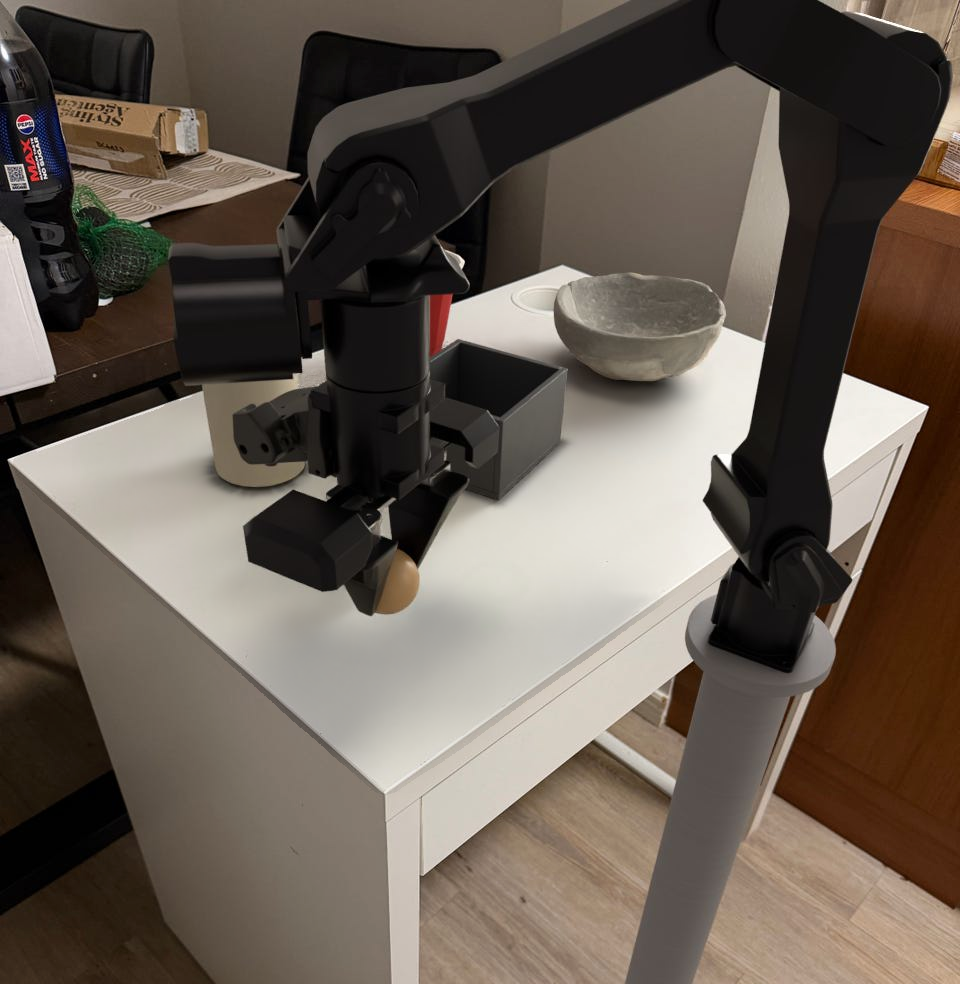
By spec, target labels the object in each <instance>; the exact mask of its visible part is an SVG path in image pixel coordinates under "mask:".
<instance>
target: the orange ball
mask: <svg viewBox="0 0 960 984" xmlns="http://www.w3.org/2000/svg"><path fill="white" fill-rule="evenodd" d="M420 579H421V578H420V572H419V568H418V569H417V567H416V565H415V563H414V561H413V560H412V559H411V558H410V557H409V556H408V555H407V554H406V553H405V552H403V551H401V550H399V549H396V552H395V555H394V559H393V562H392V564H391V568H390V571H389V574H388V577H387V580H386V583H385V587H384V590H383V593H382V596H381V599H380V602H379V604H378V607H377V609H376V612H375V613H374V614H378V615H386V616H387V615H393V614H398V613H400V612H402V611H404V610H406V609H407V608H408V607H409V606H410V605H411V604H412V603H413V602H414V600H415V599H416V597H417V594H418V593H419V588H420V584H421V583H420V581H421V580H420Z"/></svg>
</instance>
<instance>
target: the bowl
mask: <svg viewBox="0 0 960 984" xmlns="http://www.w3.org/2000/svg"><path fill="white" fill-rule="evenodd" d="M726 317H727V312H726V307H725V304H724V303H723V301H722V300H721V299H720V298H719V296H718V294H717V293H716V292H715V291H713V290H712V289H711V288H710V286H709V285H708V284H705V283H704V282H701V281H696V280H693V279H689V278H678V277H672V276H665V275H661V276H659V275H652V274H648V275H647V274H646V275H642V274H640V273H636V272H624V273H612V274H611V273H610V274H608V275H595V276H584V277H582V278H579V279H577V280H572V281H570V282H568V283H567V284H562V285H561V286H560V287H559V288H558V291H557V292H556V295H555V298H554V302H553V322H554V327H555V330H556V331H555V332H557V335H558V337H559V340H560V341H561V342H562V344H563V345H564V346H565V347H566V349H567V350H568V352H569V353H570V354H571V355H572V356H574V357H575V359H577V360H578V361H579V362H580V363H582V364H583V365H584V366H585V365H586V366H587V367H588V368H590V369H591V370H592V371H593V372H595V373H596V374H599V375H601V376H603V377H605V378H607V379H611V380H615V381H616V380H617V381H621V380H622V381H623V380H624V381H635V382H636V381H637V382H654V381H655V382H656V381H659V380H665V379H667V378H671V377H678V376H680V375H682V374H684V373H686V372H688V371H691V370H692V369H694V368H696V367H698V366H699V365H700V364H701V363H703V361H704V360H705V359H706V357H708V354H709V353H710V352H711V350H712V349H713V346H714V345H715V343H716V342H717V341H718V339H719V338H720V335H721V333H722V328H723V324H724V322H725V319H726Z"/></svg>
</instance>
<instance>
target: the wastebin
mask: <svg viewBox="0 0 960 984" xmlns="http://www.w3.org/2000/svg"><path fill="white" fill-rule="evenodd" d="M568 370H569V369H568V368H567V367H563V366H559V365H555V364H552V363H548V362H545V361H540V360H537V359H533V358H529V357H526V356H523V355H519V354H515V353H511V352H508V351H505V350H501V349H497V348H493V347H489V346H486V345H482V344H479V343H476V342H475V343H474V342H471V341H468V340H463V339H461V338H457V339H455V340H454V341H452V342H451V343H449V344H448V345H447V346H445V347H442V350H440V351H439V352H437V353H436V354H434V355H433V356H431V357H430V380H434V381H437V382H440V383H444V384H445V398H449V399H452V400H455V401H459V402H462V403H465V404H469V405H472V406H475V407H479V408H482V409H485V410H488V412H489V413H490V414H491V416H492V417H493V419H494V420H495V422H496V423H497V424H498V426H499V440H498V452H497V453H496V454H495V455H494V456H493V457H491V458H490V459H489V460H488V461H487V462H486V463H484V464H483V465H482V466H481V467H480V468H479V469H478V468H475V467H472V466H470V465H469V464H468V463H467V462H466V461H465V447H462V446H459V445H456V444H452V445H450V446H449V447H448V448H446V449H445V450H446V460H445V461H449V462H450V470H451V471H454V472H457V473H460V474H463V475H465V476H467V477H468V479H469V482H468V485H467V487H466V488H465V489H464V490H467V491H470V492H472V493H476V494H479V495H482V496H485V497H488V498H490V499H494V500H496V501H499V500H501V499H502V498H503V497H504V496H505V495H506V494H508V493H509V491H511V490H512V489H513V488H514V487H515V486H516V485H517V484H518V483H519V482H520V481H522V480H523V478H524V477H526V476H527V475H528V474H529V473H530V472H531V471H532V470H533V469H534V468H535V467H537V465H539V464H540V463H541V462H542V461H543V460H544V459H545V458H546V457H547V456H548V455H549V454H550V453H551V452H552V451H554V449H556V448H557V447H558V446H559V445H560V444H561V441H562V431H563V419H564V409H565V401H566V400H565V398H566V389H567V380H568V379H567V378H568Z"/></svg>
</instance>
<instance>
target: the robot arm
mask: <svg viewBox="0 0 960 984" xmlns="http://www.w3.org/2000/svg"><path fill="white" fill-rule="evenodd" d="M732 67H736V68H737V69H739V70H741V71H743V72H744V73H746V74H747V75H750V76H751V77H753V78H755V79H757V80H758V81H760V82H762V83H764V84H766V85H767V86H769V87H771V88H772V89H774V90H775V91H777V92H778V95H779V97H778V99H779V101H778V151H779V157H780V161H781V168H782V173H783V177H784V183H785V188H786V193H787V198H788V218H787V224H786V228H785V233H784V239H783V245H782V250H781V256H780V261H779V267H778V272H777V278H776V281H775V282H776V283H775V287H774V288H775V290H774V293H773V299H772V305H771V309H770V311H771V312H770V315H769V321H768V326H767V334H766V337H765V342H764V348H763V353H762V359H761V365H760V370H759V375H758V380H757V386H756V390H755V391H756V392H755V397H754V402H753V408H752V413H751V418H750V423H749V429H748V432H747V435H746V437H745V438H744V440H743V441H742V442H741V443H740V444H739V445H738V446H737V447H736V449H734V451H733V452H732V453H731V454H714V455H712V456H711V460H710V483H709V486H708V489H707V492H706V493H705V495H704V496H703V498H702V503H703V504H704V505H705V507H706V508H707V510H708V511H709V512H710V515H711V519H712V521H713V522H714V524H715V525H716V527H717V528H718V530H719V531H720V532H721V534H722V535H723V537H724V538H725V539H726V541H727V542H728V544H729V545H730V546H731V548H732V549H733V550H734V552H735V553H736V555H737V556H738V557H737V558H736V559H735V562H734V563H732V564H730V566H729V567H728V568H727V570H726V572H725V573H724V575H723V576H722V578H721V579H720V582H719V585H718V590H717V593H716V595H717V597H716V601H715V605H714V609H713V613H712V617H711V622H712V624H715V625H716V626H715V627H714V629H713V631H712V632H711V634H710V635H709V639H708V643H709V644H710V645H711V646H713V647H716V648H719V649H722V650H724V651H727V652H730V653H732V654H735V655H738V656H741V657H743V658H746V659H749V660H752V661H754V662H757V663H760V664H762V665H765V666H768V667H771V668H773V669H776V670H779V671H781V672H784V673H791V672H792V671H793V670H794V668H795V666H796V664H797V662H798V660H799V657H800V655H801V653H802V651H803V649H804V647H805V645H806V643H807V641H808V639H809V637H810V635H811V633H812V631H813V628H814V623H813V622H812V621H813V619H814V616H816V613H817V610H818V609H819V608H821V607H822V606H824V605H832V604H836V603H838V602H839V600H840V599H841V598H842V597H843V595H844V594H845V592H846V591H847V589H848V588H849V587H850V586H851V584H852V583H853V578H852V577H851V575H850V574H849V573H848V572H847V570H846V569H845V568H844V567H843V566H842V564H841V563H840V562H839V561H838V559H837V558H835V556H834V555H833V554H832V552H831V551H830V550H829V549H828V548H829V546H830V543H831V530H832V517H833V497H832V493H831V488H830V483H829V478H828V472H827V468H826V463H825V449H826V445H827V444H826V443H827V440H828V435H829V432H830V427H831V424H832V423H831V422H832V419H833V415H834V411H835V407H836V403H837V399H838V394H839V391H840V387H841V383H842V380H843V379H842V378H843V375H844V371H845V366H846V363H847V358H848V355H849V350H850V347H851V342H852V339H853V334H854V330H855V326H856V321H857V318H858V314H859V309H860V306H861V302H862V298H863V294H864V289H865V285H866V281H867V277H868V273H869V269H870V265H871V261H872V257H873V253H874V248H875V245H876V241H877V236H878V233H879V229H880V227H881V224H882V221H883V219H884V218H885V216H886V214H887V213H888V212H889V211H890V209H891V208H893V206H894V205H895V203H896V202H897V201H898V200H899V199H900V197H902V195H903V194H904V193H905V191H906V190H907V189H908V188H909V187H910V186H911V184H912V183H913V182H914V180H915V179H916V178H917V177H918V175H919V174H920V172H921V171H922V169H923V166H924V164H925V162H926V159H927V156H928V154H929V151H930V149H931V147H932V144H933V142H934V139H935V137H936V134H937V132H938V130H939V127H940V125H941V122H942V120H943V117H944V115H945V112H946V110H947V107H948V104H949V102H950V99H951V92H952V85H953V79H954V73H953V64H952V62H951V60H949V59H948V57H947V55H946V53H945V51H944V50H943V47H942V45H941V44H940V43H939V41H938V40H936V39H935V38H933V37H932V36H930V35H929V34H928V33H926V32H923V31H921V30H916V29H913V28H910V27H907V26H903V25H901V24H897V23H894V22H891V21H887V20H885V19H881V18H878V17H874V16H871V15H869V14H866V13H861V12H854V11H847V10H845V11H842V12H840V11H839V10H837V9H835V8H833V7H832V6H830V5H828V4H826V3H824V2H822V1H821V0H628V1H626V2H624V3H621V4H619V5H617V6H616V7H613V8H611V9H609V10H607V11H605V12H603V13H601V14H598V15H596V16H595V17H593V18H591V19H589V20H587V21H585V22H582V23H580V24H579V25H576V26H573V27H572V28H570V29H568V30H566V31H563V32H561V33H560V34H558V35H556V36H554V37H552V38H550V39H547V40H545V41H543V42H541V43H539V44H537V45H535V46H533V47H531V48H528V49H527V50H525V51H522V52H520V53H518V54H516V55H513V56H512V57H510V58H508V59H506V60H504V61H502V62H500V63H497V64H495V65H494V66H491V67H489V68H488V69H485V70H483V71H481V72H479V73H476V74H474V75H472V76H468V77H464V78H460V79H456V80H452V81H449V82H441V83H434V84H425V85H417V86H409V87H404V88H398V89H396V90H392V91H387V92H383V93H379V94H376V95H371V96H368V97H363V98H362V99H361V98H360V99H357V100H353V101H350V102H346V103H344V104H341V105H338V106H337V107H336V108H334V109H333V110H332V111H330V112H329V113H327V114H326V115H324V116H323V117H322V118H321V120H320V121H319V122H318V124H317V125H316V126H315V128H314V132H313V133H312V136H311V141H310V143H309V147H308V150H307V175H308V177H307V178H306V180H305V182H304V183H303V185H302V187H301V188H300V190H299V191H298V193H297V194H296V196H295V198H294V200H293V201H292V203H291V204H290V206H289V207H288V209H287V211H286V212H285V214H284V216H283V217H282V219H281V221H280V222H279V224H278V225H277V227H276V229H275V230H276V231H275V233H276V238H277V239H276V240H277V243H269V244H268V243H267V244H265V243H264V244H243V245H241V244H240V245H239V244H238V245H237V244H236V245H209V244H203V243H200V242H179V243H177V242H175V243H171V245H170V246H169V248H168V257H167V263H168V268H169V275H170V280H171V292H172V293H171V296H172V303H173V304H172V305H173V313H174V325H173V326H174V327H173V343H174V349H175V354H176V355H175V356H176V360H177V364H178V368H179V372H180V376H181V380H182V383H183V385H184V386H185V387H189V386H202V385H207V384H223V383H240V382H256V381H272V380H289V379H293V374H296V373H297V374H304V373H303V360H308V359H310V360H311V359H313V345H312V343H313V342H312V332H311V322H310V313H309V311H310V310H309V302H308V301H318V300H319V303H320V304H319V305H320V316H321V317H320V319H321V330H322V343H323V356H324V369H325V381H324V382H322V383H320V384H319V385H317V386H307V387H298V389H295V390H291V391H288V392H286V393H284V394H282V395H280V396H278V397H276V398H275V399H273V400H271V401H270V402H265V403H263V404H261V405H259V406H257V407H256V405H255V404H249V405H248V406H246V407H244V408H242V409H241V410H239V411H237V412H236V413H234V414H232V416H233V436H234V442H235V444H236V447H237V449H238V451H239V454H240V456H241V458H242V459H243V460H244V461H245V462H246V463H248V464H250V465H258V464H265V465H266V466H276V465H277V464H278V463H288V462H305V463H306V462H307V471H308V474H310V475H313V476H314V477H318V478H321V479H324V480H326V479H327V478H329V477H333V478H335V479H336V485H335V486H333V487H332V488H330V489H329V490H328V491H327V492H326V493H325V500H324V499H321V498H319V497H316V496H312V495H310V494H307V493H305V492H302V491H299V490H296V489H291V490H290V491H288V492H287V493H285V494H284V495H283V496H282V497H280V498H278V499H277V500H276V501H274V502H273V503H272V504H270V505H269V506H268V507H265V509H263V510H262V511H260V512H259V513H257V514H256V515H255V516H253V517H252V518H251V519H249V520H248V521H247V522H246V523H245V524H243V525H242V529H243V536H244V543H245V549H246V556H247V561H248V563H250V564H252V565H254V566H257V567H260V568H263V569H265V570H267V571H269V572H272V573H274V574H278V575H280V576H282V577H285V578H287V579H290V580H292V581H294V582H296V583H299V584H302V585H304V586H306V587H309V588H311V589H314V590H316V591H319V592H321V593H325V592H332V591H338V590H339V589H341V587H344V588H345V590H346V591H347V593H348V596H349V597H350V599H351V601H352V603H353V605H354V606H355V608H356V610H357V612H359V613H361V614H363V615H366V616H368V617H373V616H374V615H375V614H376V613H375V612H376V609H377V607H378V604H379V602H380V599H381V596H382V593H383V590H384V587H385V583H386V580H387V577H388V574H389V571H390V568H391V564H392V562H393V559H394V555H395V552H396V549H399V550H401V551H403V552H405V553H406V554H407V555H408V556H409V557H410V558H411V559H412V560H413V561H414V563H415V565H416V567H417V569H418V570H419V568H420V567H421V565H422V562H423V561H424V559H425V557H426V556H427V554H428V552H429V551H430V548H431V546H432V544H433V543H434V541H435V539H436V537H437V536H438V534H439V532H440V531H441V529H442V527H443V525H444V523H445V521H446V520H447V519H448V516H449V515H450V513H451V512H452V510H453V508H454V506H455V505H456V503H457V501H458V500H459V499H460V497H461V494H462V493H463V491H465V490H466V489H465V488H466V487H467V485H468V482H469V479H468V477H467V476H465V475H463V474H460V473H457V472H454V471H451V470H450V462H449V461H445V460H446V450H445V449H446V448H448V447H449V446H450V445H452V444H456V445H459V446H462V447H465V461H466V462H467V463H468V464H469V465H470V466H472V467H475V468H478V469H479V468H480V467H481V466H482V465H483V464H484V463H486V462H487V461H488V460H489V459H490V458H491V457H493V456H494V455H495V454H496V453H497V452H498V440H499V426H498V424H497V423H496V422H495V420H494V419H493V417H492V416H491V414H490V413H489V412H488V410H485V409H482V408H479V407H475V406H472V405H469V404H465V403H462V402H459V401H455V400H452V399H449V398H445V384H444V383H440V382H437V381H434V380H430V295H447V294H453V295H463V294H465V293H467V292H468V291H469V290H470V282H469V280H468V278H467V276H466V274H465V272H464V271H463V268H462V269H461V267H460V265H459V263H458V262H457V260H456V259H455V258H454V257H452V256H451V255H450V254H448V253H447V252H446V251H447V250H446V249H444V248H443V247H442V245H441V243H440V241H439V240H438V238H437V236H436V235H437V234H438V233H440V232H442V231H443V230H444V229H445V228H447V227H448V226H450V225H451V224H453V223H454V222H456V221H458V219H460V218H462V217H463V215H465V214H466V213H467V211H468V210H469V209H470V208H471V207H472V206H473V205H474V204H475V203H476V202H477V201H478V200H479V199H480V197H482V196H483V194H484V193H486V191H487V190H488V189H489V188H490V187H491V186H492V185H493V184H495V183H496V182H497V181H498V180H500V179H501V178H503V177H504V176H506V175H507V174H509V173H510V172H512V171H513V170H514V169H517V168H518V167H520V166H523V165H525V164H527V163H529V162H531V161H533V160H535V159H538V158H539V157H542V156H544V155H545V154H548V153H550V152H552V151H554V150H557V149H558V148H560V147H563V146H565V145H567V144H569V143H571V142H574V141H576V140H578V139H579V138H581V137H584V136H586V135H588V134H590V133H592V132H594V131H597V130H599V129H601V128H603V127H606V126H607V125H609V124H611V123H614V122H616V121H618V120H620V119H622V118H624V117H626V116H628V115H631V114H633V113H634V112H637V111H639V110H641V109H643V108H645V107H647V106H650V105H651V104H654V103H656V102H658V101H660V100H662V99H664V98H666V97H668V96H671V95H673V94H675V93H677V92H679V91H682V90H683V89H685V88H688V87H690V86H691V85H695V84H696V83H699V82H700V81H702V80H704V79H707V78H709V77H711V76H713V75H715V74H717V73H719V72H721V71H724V70H726V69H729V68H732ZM445 250H446V251H445ZM387 508H388V509H387ZM385 509H387V510H388V518H389V526H390V528H389V529H390V537H391V538H389V537H386V536H384V535H382V534H381V523H382V522H383V515H382V513H381V512H382V511H384V510H385ZM381 535H382V536H381ZM786 666H787V667H786Z"/></svg>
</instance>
